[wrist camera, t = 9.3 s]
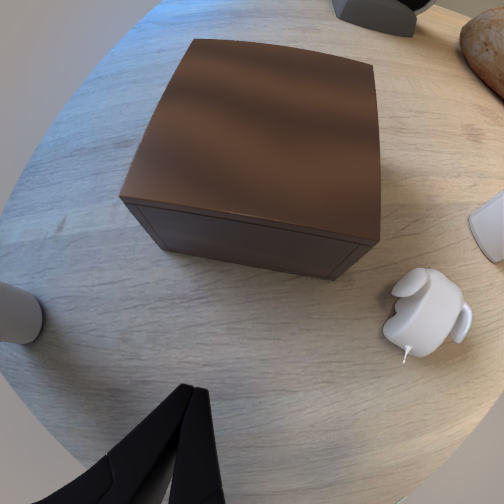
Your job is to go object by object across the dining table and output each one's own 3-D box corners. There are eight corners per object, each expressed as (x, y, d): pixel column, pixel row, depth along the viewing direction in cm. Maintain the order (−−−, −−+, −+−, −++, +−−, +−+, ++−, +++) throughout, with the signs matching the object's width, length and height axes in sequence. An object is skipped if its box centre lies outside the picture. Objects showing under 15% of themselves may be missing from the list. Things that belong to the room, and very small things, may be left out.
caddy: (203, 116, 28) (192, 49, 20) (344, 139, 27) (370, 76, 19) (160, 249, 24) (123, 202, 16) (334, 281, 23) (374, 247, 16)
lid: (194, 45, 20) (193, 38, 19) (370, 72, 20) (373, 64, 19) (122, 202, 16) (117, 196, 15) (374, 247, 15) (380, 241, 15)
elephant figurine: (451, 299, 23) (494, 284, 17) (411, 381, 21) (454, 387, 15) (395, 255, 24) (431, 230, 18) (348, 339, 22) (379, 335, 16)
